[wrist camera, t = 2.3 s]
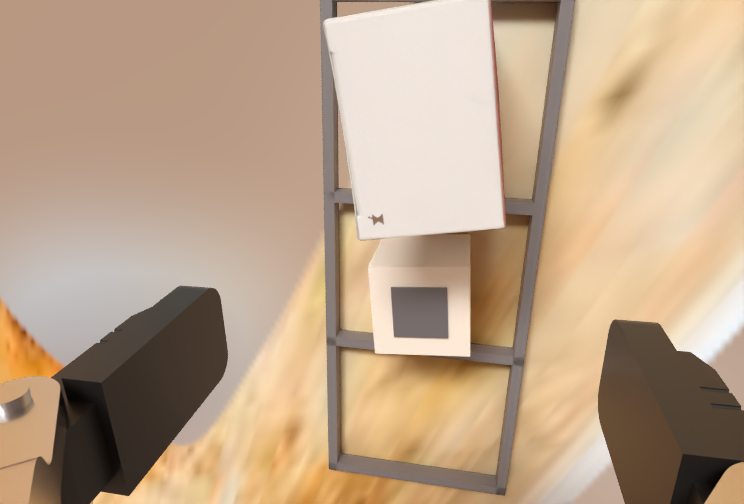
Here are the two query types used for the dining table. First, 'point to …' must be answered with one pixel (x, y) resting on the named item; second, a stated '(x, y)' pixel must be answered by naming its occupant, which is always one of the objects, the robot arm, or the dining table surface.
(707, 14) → the dining table surface
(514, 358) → the frame
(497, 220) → the small box
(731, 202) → the dining table surface
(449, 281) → the white and grey cube
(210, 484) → the dining table surface
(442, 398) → the dining table surface
